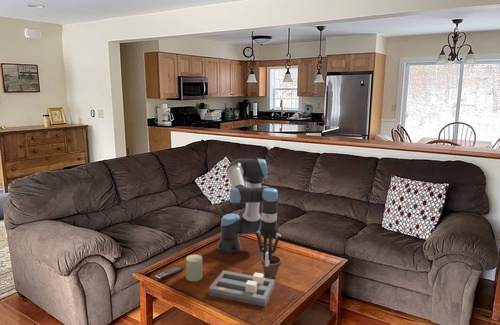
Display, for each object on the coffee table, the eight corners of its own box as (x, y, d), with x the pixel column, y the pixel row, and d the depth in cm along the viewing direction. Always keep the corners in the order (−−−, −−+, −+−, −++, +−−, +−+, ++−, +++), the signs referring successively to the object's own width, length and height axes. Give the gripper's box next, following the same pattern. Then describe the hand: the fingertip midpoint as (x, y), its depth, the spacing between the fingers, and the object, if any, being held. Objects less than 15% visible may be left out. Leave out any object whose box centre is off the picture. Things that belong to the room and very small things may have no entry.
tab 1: (247, 290, 194) (247, 280, 192) (256, 292, 192) (257, 281, 191) (245, 294, 190) (245, 283, 189) (254, 296, 188) (255, 285, 187)
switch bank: (223, 276, 211) (223, 269, 210) (274, 286, 202) (274, 279, 202) (208, 295, 192) (209, 287, 191) (265, 306, 184) (265, 299, 183)
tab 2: (254, 282, 202) (255, 272, 200) (263, 284, 200) (264, 273, 199) (252, 286, 198) (252, 275, 197) (261, 287, 196) (262, 277, 195)
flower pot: (284, 278, 212) (285, 261, 210) (266, 282, 207) (267, 265, 205) (273, 268, 222) (274, 253, 220) (257, 272, 217) (257, 256, 215)
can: (194, 283, 203) (194, 262, 201) (182, 277, 209) (182, 257, 206) (205, 276, 210) (206, 257, 208) (194, 271, 216) (194, 252, 213)
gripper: (253, 220, 179) (252, 266, 184) (280, 224, 175) (278, 270, 180) (258, 216, 186) (256, 259, 191) (283, 219, 182) (281, 264, 187)
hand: (267, 265), depth 185 cm, fingers closed
